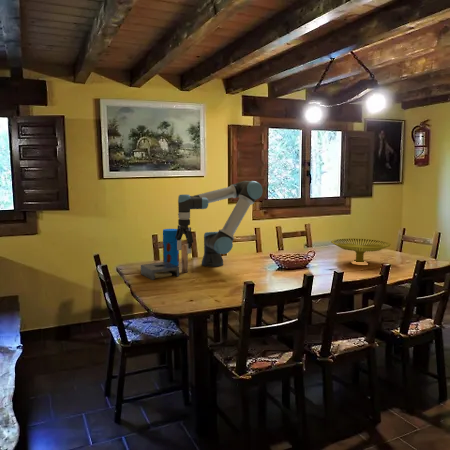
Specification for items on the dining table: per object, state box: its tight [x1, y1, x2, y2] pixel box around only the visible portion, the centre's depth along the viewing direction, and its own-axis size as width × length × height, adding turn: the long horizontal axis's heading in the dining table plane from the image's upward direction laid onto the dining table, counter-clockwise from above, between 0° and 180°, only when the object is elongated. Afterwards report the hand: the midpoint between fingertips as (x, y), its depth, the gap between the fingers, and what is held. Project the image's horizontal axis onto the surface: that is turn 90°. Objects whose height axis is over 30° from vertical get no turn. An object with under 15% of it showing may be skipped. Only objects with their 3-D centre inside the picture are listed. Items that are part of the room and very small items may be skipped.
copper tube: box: [180, 243, 189, 274], centre depth 286 cm, size 4×4×18 cm
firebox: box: [140, 261, 180, 281], centre depth 278 cm, size 18×18×6 cm
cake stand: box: [330, 237, 391, 262], centre depth 313 cm, size 40×40×15 cm
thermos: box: [162, 228, 180, 267], centre depth 304 cm, size 11×11×25 cm
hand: (184, 251), depth 285 cm, fingers open, 13 cm apart
